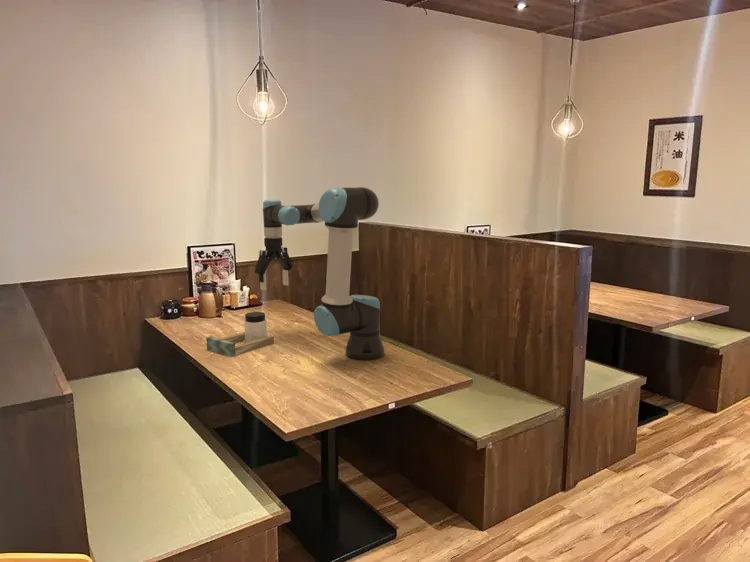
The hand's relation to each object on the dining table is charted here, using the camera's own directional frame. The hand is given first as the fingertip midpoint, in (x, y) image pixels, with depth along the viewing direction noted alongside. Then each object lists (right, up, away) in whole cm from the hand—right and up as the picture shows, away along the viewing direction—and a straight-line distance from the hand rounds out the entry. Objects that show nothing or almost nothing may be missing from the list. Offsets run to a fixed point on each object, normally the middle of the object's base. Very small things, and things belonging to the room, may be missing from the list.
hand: (274, 287), depth 246 cm
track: (-11, -24, -10) cm, 28 cm away
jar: (-7, -23, -5) cm, 24 cm away
